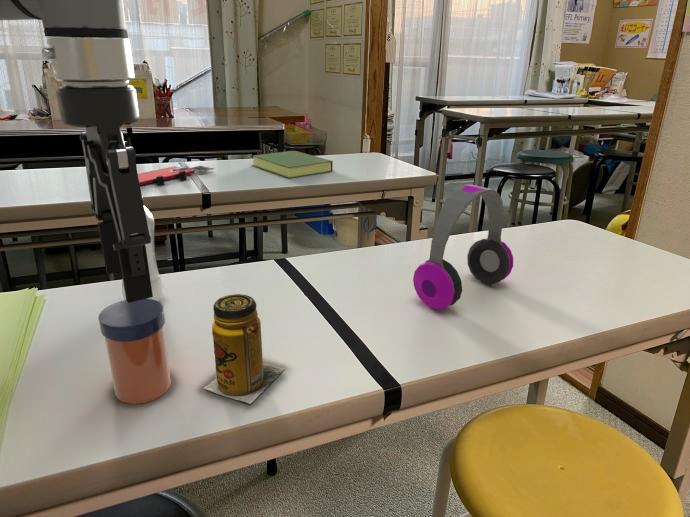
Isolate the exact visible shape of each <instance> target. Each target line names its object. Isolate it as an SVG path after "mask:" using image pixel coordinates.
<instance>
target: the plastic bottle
mask: <svg viewBox="0 0 690 517" xmlns="http://www.w3.org/2000/svg"><path fill="white" fill-rule="evenodd" d="M142 199H143V200H144V198H143V196H142ZM144 209H145V214H146V219H147V224H148V229H149V235H150V237H151V243H150V244H145V246H146V252H147V259H148V266H149V273H150V280H151V287H152V294H153V297H151V298H147V299H153V300H156V301H158V302H160V300H161V298H162V296H163V292H164V291H163V290H164V285H163V282H162V278H161V275H160V273H159V269H158V264H157V260H156V252H155V217H154V216H153V214H152V212H151V211H150V209H148V208H147V207H146V205H144ZM136 234H137V233H136ZM131 235H135V234H131ZM121 281H122V282H121V294H122V297H123V301H124V300H126V296H125V290H124V284H123V279H122V280H121Z"/></svg>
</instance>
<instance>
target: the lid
mask: <svg viewBox="0 0 690 517" xmlns="http://www.w3.org/2000/svg"><path fill="white" fill-rule="evenodd" d="M98 323H99V328H100V334H101V335H102V336H103V337H104V338H105V337H106V338H108V339H111V340H115V341H131V340H137V339H141V338H145V337H147V336H150V335H152V334H154V333H156V332H157V331H159V330H160V329H161V328H162V327H165V323H166V316H165V310H164V305H163V304H162V302H160V301H156V300H153V299H143V300H139V301H135V302H130V303H128V302H127V301H126V300H124V299H123V300H121V301H117V302H114V303H111V304H110V305H108V306H107V307H105V308H104V309H103V310H101V311H100V313H99V314H98Z"/></svg>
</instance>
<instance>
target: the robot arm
mask: <svg viewBox="0 0 690 517" xmlns="http://www.w3.org/2000/svg"><path fill="white" fill-rule="evenodd" d="M125 16H126V14H125V5H124V0H0V21H25V20H29V21H30V20H37V21H41V22H42V27H43V33H44V37H46V44H47V46H48V47H44V48H42V49H41V56H42V58H44V59H46V60H51V62H50V66H51V71H52V77H53V79H55V81H57V82H60V83H61V86H58V87H57V89H56V90H55V95H56V96H55V97H56V100H57V106H58V111H59V116H60V120H61V122H62V123H63V124H64V125H66V126H69V127H75V128H85V132H80V133H79V134H80V135H79V140H80V141H81V145H82V150H83V156H84V163H85V168H86V178H87V186H88V192H89V198H90V209H91V211H92V212H93V213H94V217H95V219H96V221H97V229H98V234H99V239H100V245H101V250H102V255H103V261H104V267H105V272H106V274H107V275H111V274H116V273H120V272H121V278H122V280H123V284H124V290H125V296H126V301H127V302H128V303H130V302H135V301H139V300H143V299H147V298H151V297H153V294H152V287H151V280H150V273H149V266H148V259H147V252H146V246H145V244H150V243H151V237H150V235H149V229H148V224H147V219H146V214H145V209H144V206H145V203H144V198H143V199H142V197H143V194H142V190H141V185H140V184H139V179H138V174H139V173H138V167H137V158H136V156H137V152H136V150H135V148H134V147H133V146H130V143H129V142H128V141H125V139H124V135H123V132H122V127H123V126H124V125H132V124H133V125H134V124H136V123H137V122H138V121H139V119H140V110H139V103H138V96H137V89H136V88H134V86H133V85H130V81H133V80H134V79H135V70H134V61H133V55H132V54H133V53H132V47H131V41H130V38H129V32H128V29H127V24H126V17H125ZM136 233H137V234H136ZM131 234H135V235H131Z"/></svg>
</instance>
